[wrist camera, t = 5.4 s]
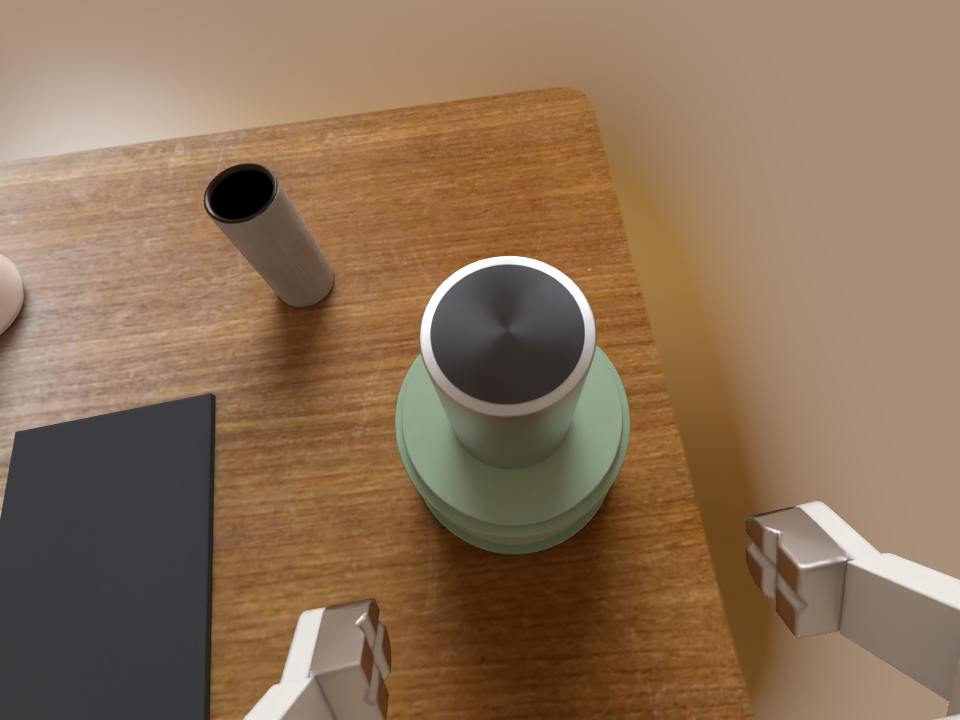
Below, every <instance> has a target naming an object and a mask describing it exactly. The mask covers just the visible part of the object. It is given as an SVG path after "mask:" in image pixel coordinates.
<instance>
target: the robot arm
mask: <svg viewBox="0 0 960 720" xmlns="http://www.w3.org/2000/svg"><path fill="white" fill-rule="evenodd" d="M745 531H746V533H747V534H748V535H749V536H750V538H751V541H750V542H749V543H748V545H747V546H746V547H745V551H746V562H747V565H748V568H749V572H750V574H751V576H752V578H753V579H754V582H755V583H756V585H757V586H758V587H759V589H760V590H761V592H762V593H763V594H765V595H767V596H769V597H771V598H773V599H775V600H776V612H777V613H778V615H779V616H780V617H781V619H782V620H783V621H784V623H785V624H786V625H787V626H788V628H789V629H790V631H791V632H792V633H793V634H794V636H795V637H796V638H797V639H799V638H804V637H809V636H815V635H820V634H826V633H831V632H837V631H840V634H842V635H843V636H845V637H847V638H848V639H850V640H851V641H853V642H855V643H856V644H858V645H859V646H861V647H863V648H864V649H866V650H868V651H869V652H871V653H872V654H874V655H876V656H877V657H879V658H880V659H882V660H884V661H885V662H887V663H888V664H890V665H892V666H893V667H895V668H896V669H898V670H900V671H901V672H903V673H904V674H906V675H908V676H909V677H911V678H912V679H914V680H916V681H917V682H919V683H920V684H922V685H924V686H925V687H927V688H928V689H930V690H932V691H933V692H935V693H937V694H938V695H940V696H941V697H943V698H945V699H946V700H948V701H950V703H949V707H948V712H947V716H946V717H944V718H939V719H935V720H960V580H958V579H956V578H953V577H951V576H948V575H945V574H943V573H940V572H938V571H935V570H932V569H930V568H927V567H924V566H922V565H919V564H917V563H914V562H912V561H909V560H906V559H904V558H901V557H898V556H896V555H893V554H891V553H885V554H881V553H879V552H878V551H877V550H876V549H875V548H874V547H873V546H872V545H870V544H869V543H868V542H867V541H866V540H865V539H864V538H863V537H861V536H860V535H859V534H858V533H857V532H856V531H855V530H854V529H852V528H851V527H850V526H849V525H848V524H847V523H846V522H845V521H843V520H842V519H841V518H840V517H839V516H838V515H837V514H836V513H834V512H833V511H832V510H831V509H830V508H829V507H828V506H827V505H825V504H824V503H822V502H819V501H815V502H811V503H806V504H802V505H798V506H794V507H789V508H785V509H780V510H776V511H771V512H767V513H762V514H758V515H754V516H749V517H748V518H747V520H746V530H745ZM378 619H379V608H378V605H377V603H376V601H375V599H373V598H369V599H364V600H359V601H353V602H348V603H343V604H337V605H332V606H327V607H324V608H319V609H314V610H308V611H304V612H303V613H302V615H301V616H300V618H299V620H298V623H297V627H296V630H295V634H294V637H293V640H292V644H291V647H290V651H289V654H288V657H287V661H286V664H285V668H284V671H283V674H282V678H281V681H280V684H276V685H273V686H272V687H271V688H270V689H269V690H268V691H267V692H266V694H265V695H264V696H263V697H262V698H261V699H260V701H259V702H258V703H257V704H256V705H255V706H254V707H253V709H252V710H251V711H250V712H249V713H248V714H247V715H246V717H245V718H244V719H243V720H386V719H387V708H388V697H389V694H388V691H387V689H386V686H385V683H384V682H385V680H386V679H387V677H388V676H389V675H390V673H391V646H390V640H389V635H388V632H387V629H386V626H385V625H384V624H382V623H381V622H379V621H378Z"/></svg>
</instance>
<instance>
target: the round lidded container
mask: <svg viewBox="0 0 960 720" xmlns="http://www.w3.org/2000/svg"><path fill="white" fill-rule="evenodd" d="M395 430H396V440H397V445H398V450H399V454H400V457H401V460H402V463H403V466H404V468H405V470H406V472H407V474H408V476H409V478H410V480H411V481H412V483H413V484H414V486H415V487H416V488H417V490H418V491H419V493H420V494H421V495H422V497H423V499H424V501H425V503H426V504H427V506H428V507H429V509H430V510H431V512H432V513H433V515H434V516H435V517H436V518H437V519H438V520H439V521H440V522H441V524H442V525H443V526H444V527H446V528H447V529H448V530H449V531H450V532H452V533H453V534H454V535H456V536H457V537H459V538H460V539H462V540H464V541H465V542H467V543H469V544H471V545H473V546H476V547H478V548H480V549H484V550H487V551H490V552H495V553H501V554H528V553H535V552H539V551H542V550H546V549H549V548H551V547H553V546H556V545H558V544H560V543H562V542H564V541H565V540H567V539H569V538H570V537H572V536H573V535H575V534H576V533H577V532H578V531H579V530H581V529H582V528H583V527H584V526H585V525H586V524H587V523H588V522H589V521H590V520H591V519H592V518H593V516H594V515H595V514H596V512H597V511H598V509H599V508H600V506H601V505H602V503H603V501H604V499H605V497H606V495H607V493H608V490H609V488H610V487H611V485H612V484H613V482H614V481H615V479H616V477H617V475H618V473H619V471H620V469H621V467H622V464H623V461H624V458H625V455H626V452H627V448H628V442H629V436H630V414H629V405H628V401H627V397H626V393H625V390H624V387H623V384H622V382H621V379H620V377H619V375H618V373H617V371H616V370H615V368H614V366H613V364H612V363H611V362H610V360H609V359H608V357H607V356H606V355H605V353H604V352H603V351H602V350H601V349H600V348H599V347H598V346H597V345H596V349H595V354H594V358H593V361H592V363H591V366H590V369H589V372H588V375H587V378H586V381H585V383H584V386H583V389H582V392H581V395H580V398H579V401H578V404H577V406H576V409H575V412H574V415H573V418H572V421H571V424H570V426H569V429H568V432H567V435H566V436H565V438H564V440H563V442H562V443H561V445H560V446H559V447H558V449H557V450H556V451H555V452H554V453H553V454H551V455H550V456H549V457H548V458H546V459H545V460H543V461H541V462H540V463H538V464H535V465H533V466H530V467H526V468H521V469H501V468H496V467H492V466H489V465H487V464H485V463H483V462H481V461H479V460H477V459H476V458H474V457H473V456H472V455H471V454H469V453H468V451H467V450H466V449H465V448H464V447H463V446H462V445H461V443H460V442H459V440H458V438H457V436H456V434H455V432H454V430H453V428H452V426H451V423H450V421H449V419H448V417H447V414H446V412H445V410H444V408H443V406H442V403H441V401H440V399H439V397H438V394H437V392H436V390H435V388H434V386H433V383H432V381H431V379H430V377H429V374H428V372H427V370H426V368H425V365H424V362H423V360H422V356H421V353H420V354H419V355H418V357H417V358H416V360H415V361H414V363H413V364H412V366H411V367H410V369H409V371H408V373H407V375H406V377H405V379H404V381H403V384H402V387H401V390H400V393H399V397H398V401H397V406H396V416H395Z"/></svg>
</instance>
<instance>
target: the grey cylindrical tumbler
mask: <svg viewBox="0 0 960 720" xmlns="http://www.w3.org/2000/svg"><path fill="white" fill-rule="evenodd" d="M204 207H205V210H206V212H207V213H208V215H209V216H210V217H211V218H212V220H213V221H214V222H215V223H216V224H217V225H218V227H219V228H220V229H221V230H222V231H223V232H224V234H225V235H226V236H227V237H228V238H229V239H230V241H231V242H232V243H233V244H234V245H235V246H236V248H237V249H238V250H239V251H240V252H241V253H242V254H243V256H244V257H245V258H246V259H247V260H248V261H249V263H250V264H251V265H252V266H253V267H254V268H255V270H256V271H257V272H258V273H259V274H260V275H261V276H262V278H263V279H264V280H265V281H266V282H267V283H268V285H269V286H270V287H271V288H272V289H273V290H274V292H275V293H276V294H277V295H278V296H279V297H280V298H281V299H282V300H283V301H284V302H285V303H287V304H289V305H291V306H294V307H307V306H311V305H314V304H316V303H318V302H319V301H321V300H322V299H323V298H324V297H325V296H326V295H327V294H328V293H329V292H330V290H331V288H332V285H333V282H334V274H333V271H332V268H331V266H330V264H329V263H328V261H327V259H326V258H325V256H324V254H323V253H322V251H321V250H320V248H319V246H318V245H317V243H316V241H315V240H314V238H313V236H312V235H311V233H310V232H309V230H308V228H307V227H306V225H305V223H304V222H303V220H302V218H301V217H300V215H299V213H298V212H297V210H296V209H295V207H294V205H293V204H292V202H291V200H290V199H289V197H288V195H287V194H286V192H285V190H284V189H283V187H282V186H281V184H280V182H279V181H278V179H277V177H276V176H275V174H274V173H273V172H272V171H271V170H270V169H268V168H266V167H264V166H262V165H259V164H252V163H246V164H239V165H235V166H232V167H230V168H228V169H226V170H224V171H222V172H221V173H219V174H218V175H217V176H216V177H215V178H214V179H213V180H212V181H211V182H210V184H209V185H208V187H207V189H206V191H205V194H204Z"/></svg>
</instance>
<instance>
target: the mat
mask: <svg viewBox="0 0 960 720" xmlns="http://www.w3.org/2000/svg"><path fill="white" fill-rule="evenodd" d="M214 433H215V396H214V395H213V394H205V395H200V396H195V397H190V398H185V399H180V400H175V401H170V402H165V403H160V404H155V405H150V406H145V407H140V408H135V409H130V410H125V411H120V412H115V413H109V414H104V415H99V416H94V417H89V418H84V419H79V420H74V421H69V422H64V423H59V424H54V425H49V426H44V427H39V428H34V429H29V430H24V431H19V432H16V433H15V438H14V444H13V450H12V456H11V461H10V467H9V473H8V478H7V484H6V490H5V495H4V501H3V507H2V513H1V518H0V720H209V700H210V647H211V593H212V540H213V486H214Z"/></svg>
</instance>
